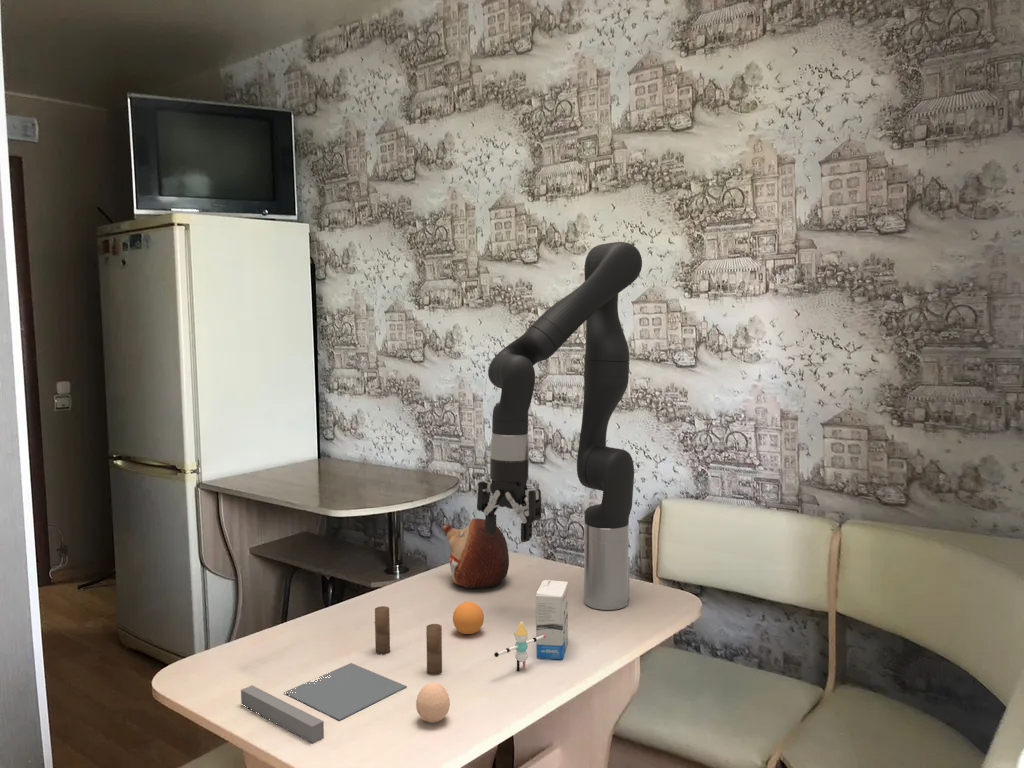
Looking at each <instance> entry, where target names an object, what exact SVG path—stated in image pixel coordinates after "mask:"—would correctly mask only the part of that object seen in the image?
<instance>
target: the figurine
mask: <svg viewBox="0 0 1024 768" xmlns="http://www.w3.org/2000/svg"><path fill="white" fill-rule="evenodd" d="M442 532H443V533H444V534H446V536H447V537H446V538H447V540H448V546H449V549H450V555H449V566H450V571H451V572H450V573H451V575H450V579H451V582H452V583H454V584H456V585H458V586H460V587H464V588H467V589H471V590H478V589H479V590H480V589H484V588H493V587H498V586H500V585H501V584H502V583H503V582H504V579H506V577H507V576H508V570H509V569H510V568H509V567H510V556H509V554H510V553H509V548H508V543H507V541H506V537H505V535H504V533H503V532H502V531H501V529H500V527H498V526H497V525H496V532H495V533H494V534H491V535H490V534H487V531H486V529H485V519H484V518H476V517H475V518H471V520H470V521H469V523H468V524H467V526H466V527H465V528H461V529H460V528H455V527H452V525H451V524H450V523H446V524H444V525H443V526H442Z"/></svg>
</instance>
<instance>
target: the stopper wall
mask: <svg viewBox="0 0 1024 768" xmlns="http://www.w3.org/2000/svg"><path fill="white" fill-rule="evenodd" d="M240 699H241V700H240V701H241V703H240V704H243V705H245V706H246V707H248V708H250V709H252V710H253V711H252V710H251V711H252V712H254V711H255V712H257V713H259V714H260V716H261V715H262V716H261V717H263V716H264V717H263V718H265V717H266V718H265V719H267V720H268V719H270V720H271V721H270V720H269V721H270V722H272V723H274V722H275V723H274V724H276V723H277V724H276V725H278V726H280V727H281V728H283V727H284V728H283V729H285V728H286V729H285V730H287V729H288V730H287V731H289V732H291V733H293V734H295V735H297V736H299V737H301V738H302V739H304V740H306V741H308V742H309V743H311V744H314V743H316V742H318V741H320V740H321V739H325V727H324V722H325V721H323V720H322V719H320V718H318V717H316V716H314V715H312V714H310V713H308V712H306V711H304V710H302V709H301V708H298V707H296V706H294V705H292V704H291V703H288V702H287V701H284V700H282V699H281V698H278V697H277V696H274V695H273V694H271V693H268V692H267V691H265V690H263V689H260V688H259V687H256V686H255V685H252V684H251V685H249V686H247V687H245V688H242V689H241V690H240ZM246 707H245V708H246ZM248 708H247V709H248ZM250 709H249V710H250ZM255 712H254V713H255ZM257 713H256V714H257ZM259 714H258V715H259Z"/></svg>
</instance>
